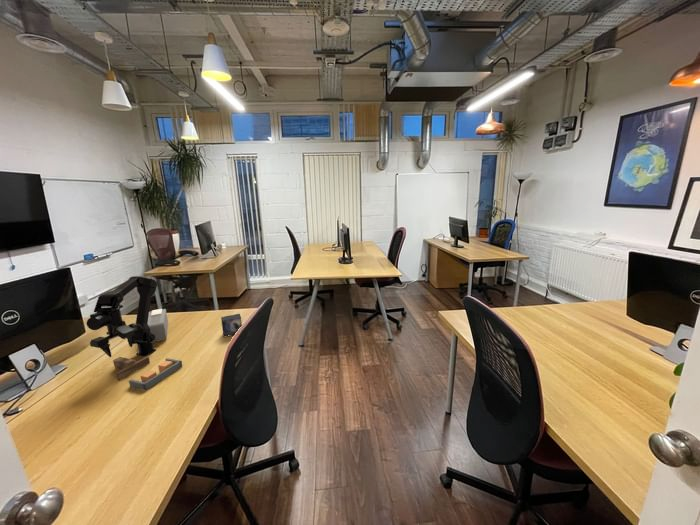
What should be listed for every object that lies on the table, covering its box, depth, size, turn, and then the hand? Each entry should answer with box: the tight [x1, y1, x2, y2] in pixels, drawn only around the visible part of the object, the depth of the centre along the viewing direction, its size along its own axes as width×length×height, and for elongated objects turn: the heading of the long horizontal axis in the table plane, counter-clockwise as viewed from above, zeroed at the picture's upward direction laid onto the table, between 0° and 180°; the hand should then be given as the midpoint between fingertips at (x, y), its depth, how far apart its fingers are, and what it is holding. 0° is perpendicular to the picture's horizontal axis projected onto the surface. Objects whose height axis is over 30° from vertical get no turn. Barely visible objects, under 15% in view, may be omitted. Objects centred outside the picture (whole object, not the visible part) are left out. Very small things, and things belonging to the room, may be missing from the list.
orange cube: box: [157, 360, 173, 373], centre depth 131 cm, size 4×4×4 cm
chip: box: [140, 370, 158, 382], centre depth 123 cm, size 4×4×4 cm
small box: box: [220, 313, 243, 337], centre depth 166 cm, size 11×6×10 cm, turn 117°
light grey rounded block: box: [148, 308, 169, 343], centre depth 168 cm, size 27×9×12 cm, turn 31°
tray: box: [128, 357, 183, 391], centre depth 127 cm, size 9×18×3 cm, turn 162°
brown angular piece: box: [112, 355, 151, 381], centre depth 133 cm, size 11×14×5 cm
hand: (121, 351), depth 132 cm, fingers open, 9 cm apart
